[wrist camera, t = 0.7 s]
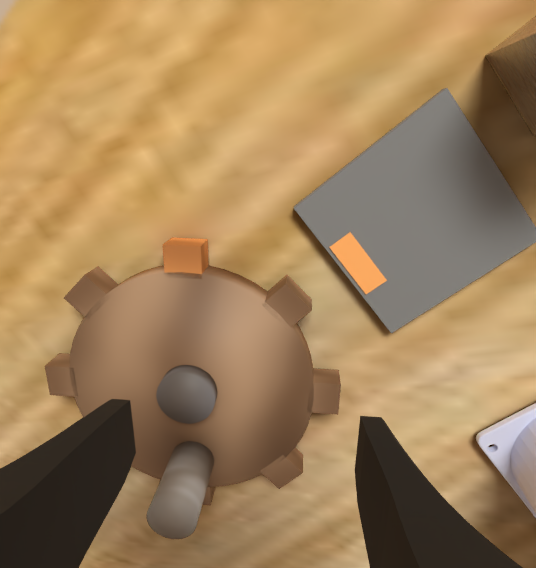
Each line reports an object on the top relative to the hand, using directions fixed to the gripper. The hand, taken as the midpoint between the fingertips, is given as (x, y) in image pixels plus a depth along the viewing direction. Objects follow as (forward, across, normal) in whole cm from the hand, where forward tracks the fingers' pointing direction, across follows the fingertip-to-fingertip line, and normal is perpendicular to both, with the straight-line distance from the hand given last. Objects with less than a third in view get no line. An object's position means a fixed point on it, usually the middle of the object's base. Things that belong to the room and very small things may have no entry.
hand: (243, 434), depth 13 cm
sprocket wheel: (+10, +4, +4) cm, 11 cm away
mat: (+10, -7, -5) cm, 13 cm away
